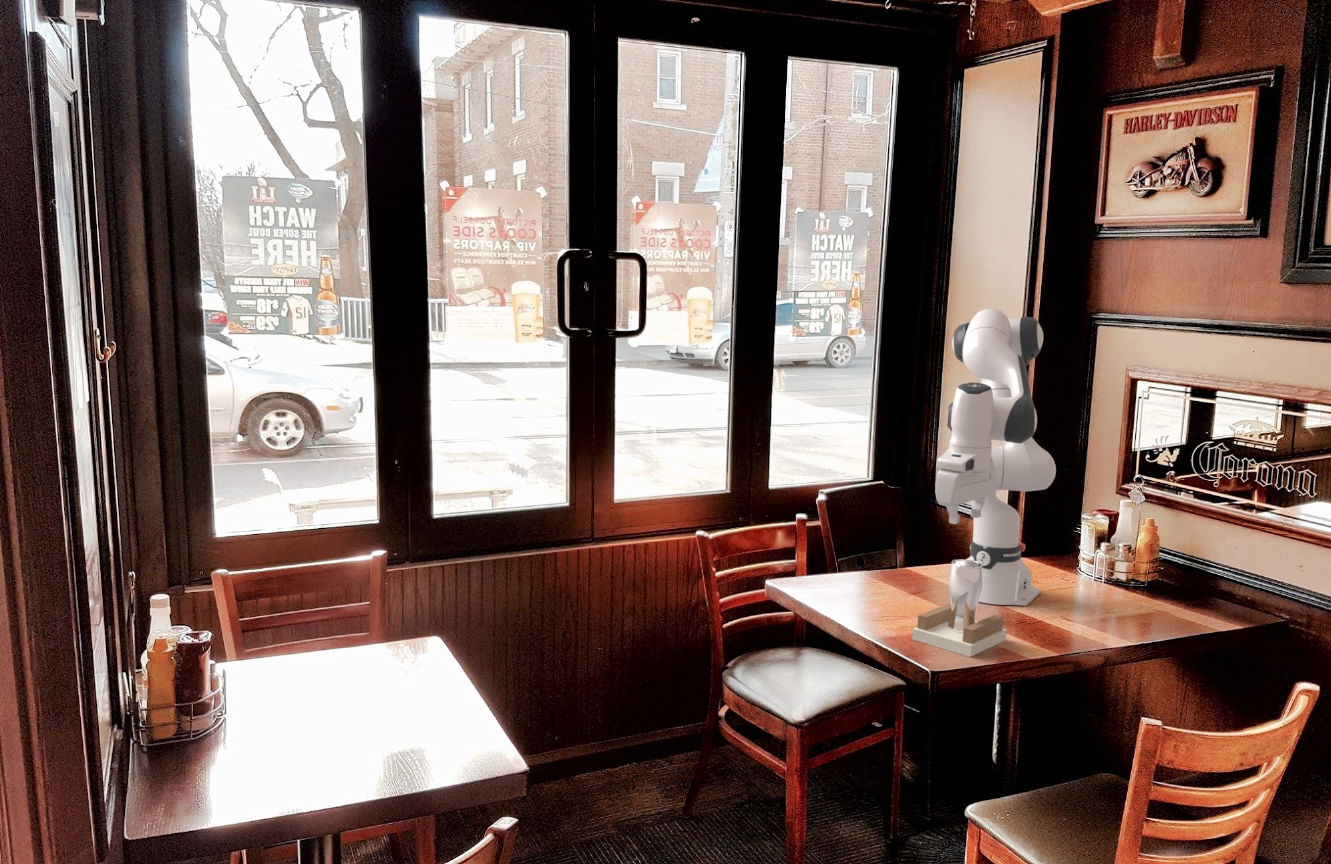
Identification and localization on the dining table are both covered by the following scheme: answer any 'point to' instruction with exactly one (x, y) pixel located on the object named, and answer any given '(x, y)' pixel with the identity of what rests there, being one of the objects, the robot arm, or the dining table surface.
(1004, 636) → the stand
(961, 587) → the beer glass
